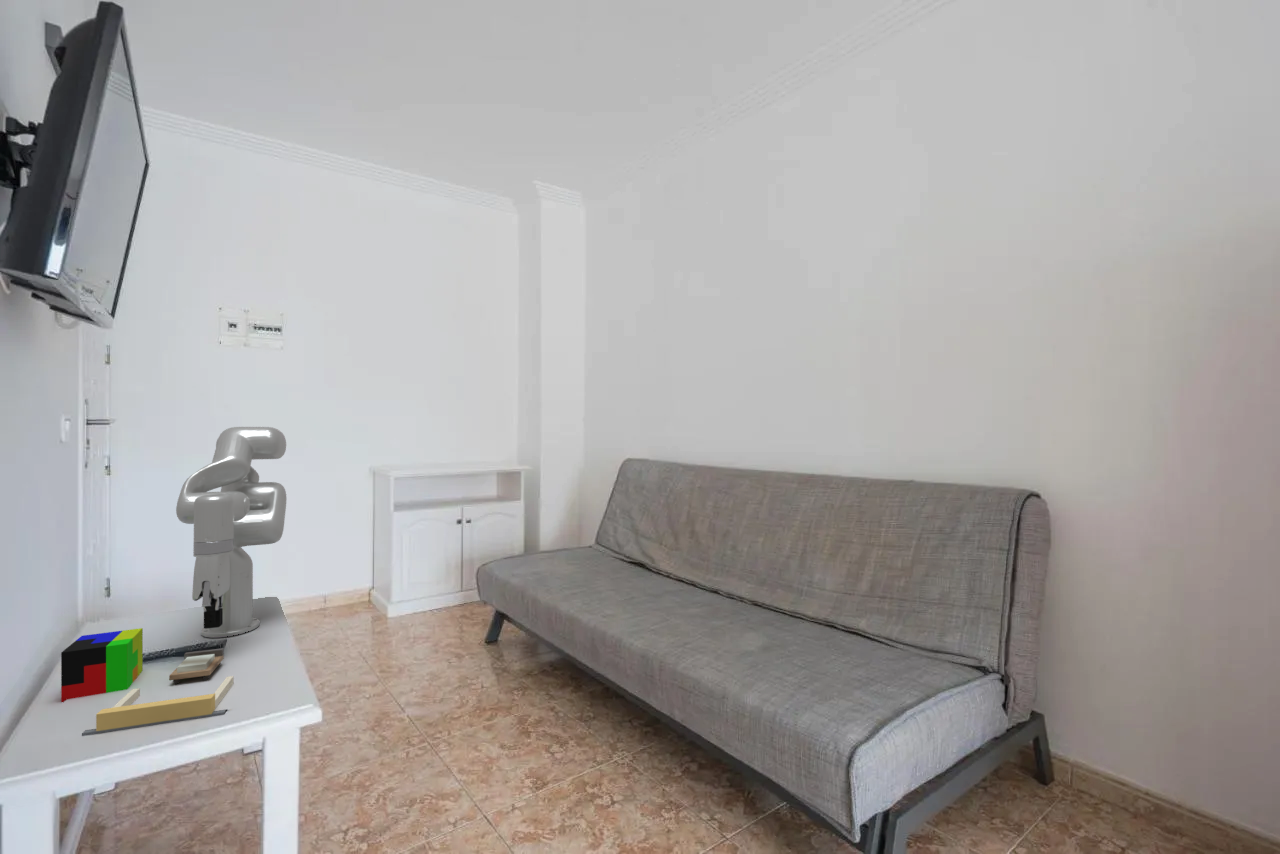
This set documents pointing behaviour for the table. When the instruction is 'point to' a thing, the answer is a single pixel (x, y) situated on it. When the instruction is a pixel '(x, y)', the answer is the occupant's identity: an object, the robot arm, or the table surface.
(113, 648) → the puzzle toy
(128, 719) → the mat
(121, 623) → the table surface
